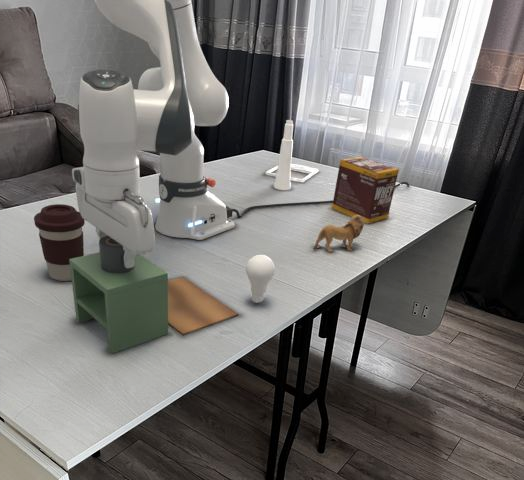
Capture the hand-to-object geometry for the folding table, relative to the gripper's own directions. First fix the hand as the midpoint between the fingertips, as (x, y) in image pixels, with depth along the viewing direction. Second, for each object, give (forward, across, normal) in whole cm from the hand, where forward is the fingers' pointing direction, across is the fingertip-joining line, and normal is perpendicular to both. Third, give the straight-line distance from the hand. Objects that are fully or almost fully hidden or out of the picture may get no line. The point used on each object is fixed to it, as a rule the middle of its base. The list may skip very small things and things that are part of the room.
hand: (117, 258), depth 97 cm
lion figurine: (+15, +4, -68) cm, 70 cm away
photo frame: (+14, +61, -107) cm, 124 cm away
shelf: (+14, 0, 0) cm, 14 cm away
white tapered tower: (+15, +50, -91) cm, 105 cm away
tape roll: (+2, 0, 0) cm, 2 cm away
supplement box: (+15, +19, -96) cm, 99 cm away
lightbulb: (+15, -7, -29) cm, 33 cm away
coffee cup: (+15, +26, -1) cm, 30 cm away
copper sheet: (+14, +1, -15) cm, 21 cm away
